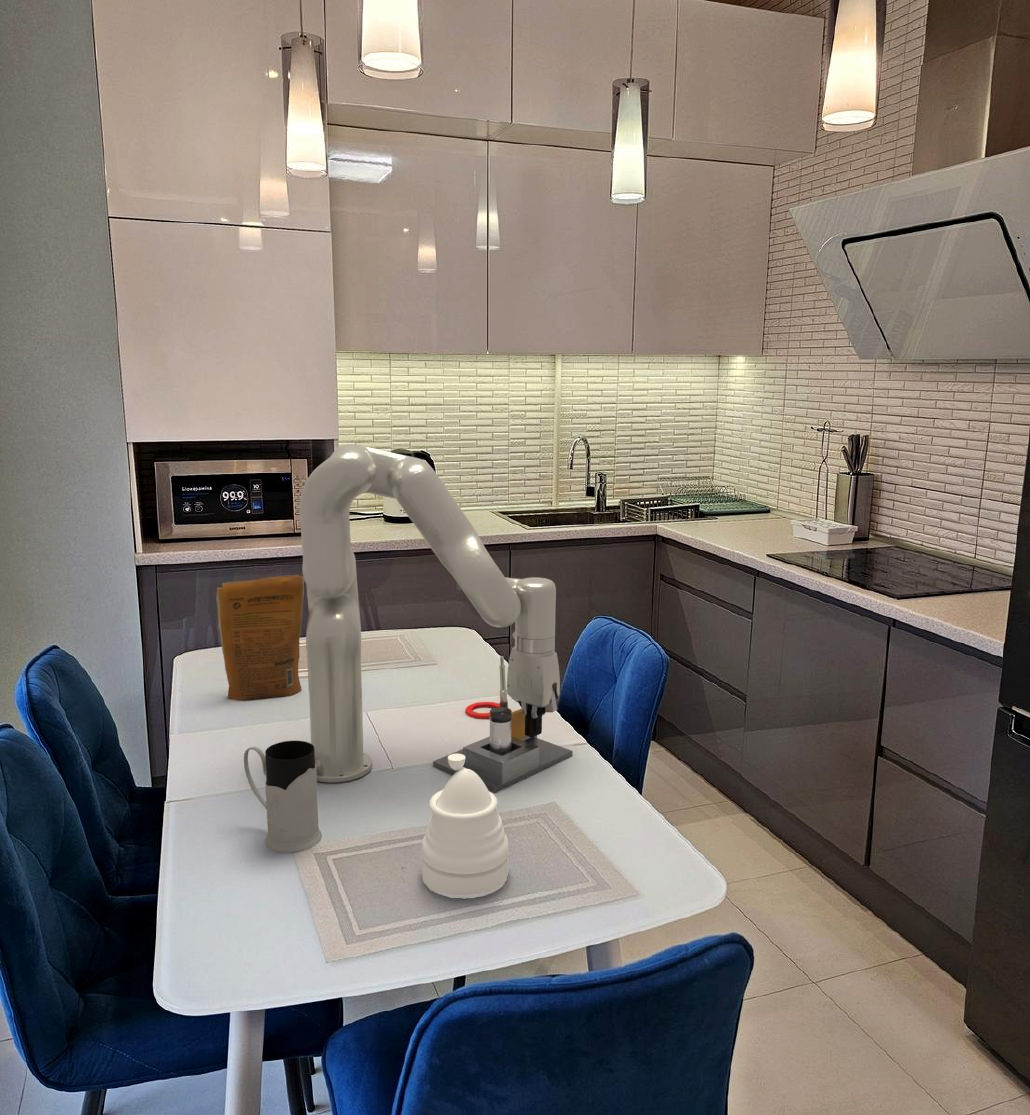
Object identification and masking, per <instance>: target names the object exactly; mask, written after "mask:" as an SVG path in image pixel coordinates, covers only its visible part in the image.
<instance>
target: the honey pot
mask: <svg viewBox="0 0 1030 1115" xmlns="http://www.w3.org/2000/svg"><path fill="white" fill-rule="evenodd" d="M450 754H451V755H450ZM450 754H448V755H449V756H448V763H449V765H450V767H451V768H452V769H454V770H459V771H457V772H456V773H455V774H454V775H452V776H451V777H450V778H449V779H448V781H447V783H446V784H445V786H444V788H443V789H441V790H439V791H437V792H435V794H433V795H432V796H431V798H430V800H429V802H428V803H429V804H428V805H429V807H428V808H429V810H430V811H431V812H432V815H431V816H430V818H429V820H428V826H427V828H426V830H425V834H424V837H423V839H422V842H421V877H422V878H421V879H423V880H424V882H425V884H426V885H427V886H429V887H430V888H431V889H432V890H435V891H437V892H442V893H446V894H451V895H470V894H479V893H482V892H488V891H490V890H492V889H495V888H496V887H497V886H499V885H500V884H502V883H503V881H504V880H505V879H507V876H508V872H509V871H510V870H509V869H510V867H509V866H510V865H509V864H510V862H509V861H510V860H509V859H510V855H509V852H510V851H509V850H510V849H509V847H510V844H509V840H508V836H507V834H506V833H505V828H504V826H503V822H502V817H501V816H500V815H499V812H498V810H497V807H498V805H499V802H498V798H497V797H496V796H495V795H494V793H493V792H491V791H488V789H487V787H486V786H485V784H484V782H483V781H482V780H481V778H480V777H479V776H478V775H477V774H476V773H475V772H474V771H472V770H470V769H466V768H464V767H463V765H464V763H465V756H464V755H462V754H452V753H450ZM509 873H510V872H509ZM508 877H509V876H508ZM423 880H422V881H423ZM507 880H508V879H507ZM424 882H423V883H424ZM425 884H424V885H425Z"/></svg>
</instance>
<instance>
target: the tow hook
mask: <svg viewBox="0 0 1030 1115" xmlns="http://www.w3.org/2000/svg"><path fill="white" fill-rule="evenodd" d="M504 658H505V657H504V655H503V656H502V655H501V656H500V657H499V659H500V660H499V662H500V663H499V664H500V665H499V681H500V682H499V684H500V686H499V687H500V690H499V703H498V702H495V701H480V702H475V703H471V704H469V705H468V706H467V707H465V715H466V716H468V717H470V718H473V719H482V720H483V719H490V711H489V712H476V711H474V710H477V709H480V708H491V709H493V708H497V707H505V708H509V702H508V694H507V679H506V665H505V660H504Z"/></svg>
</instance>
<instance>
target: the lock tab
mask: <svg viewBox="0 0 1030 1115" xmlns="http://www.w3.org/2000/svg"><path fill="white" fill-rule="evenodd" d="M511 736H512V737H515V738H517V739H520V740H523V741H525V740H527V739H530V738H531V737H529V736H526V735H525V715H523V713H522V708H520V709H519V708H518V709H517V710H515V711H512V726H511Z"/></svg>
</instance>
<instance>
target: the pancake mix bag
mask: <svg viewBox="0 0 1030 1115" xmlns="http://www.w3.org/2000/svg"><path fill="white" fill-rule="evenodd" d="M221 585H222V587H217V588H216V594H215V597H216V599H215V601H216V606H217V626H218V632H219V639H220V640H219V641H220V645H221V648H222V649H221V650H222V655H223V656H222V657H223V660H224V661H223V662H224V668H225V669H224V670H225V673H226V677H227V678H226V679H227V683H228V692H227V696H226V697H227V698H228V699H230V700H234V701H238V702H239V701H243V702H244V701H253V700H261V699H271V698H278V697H279V698H280V697H290V696H294V695H296V694H298V693H300V692H301V691H302V688H303V687H302V685H301V681H300V676H299V674H300V673H299V661H300V636H301V631H302V630H301V629H302V624H303V623H302V622H303V603H304V596H305V595H304V594H305V592H304V591H305V581H304V577H303V575H299V574H293V575H292V574H291V575H289V574H288V575H279V576H271V577H263V578H257V579H256V578H255V579H251V580H237V581H229V582H223V583H222V584H221Z"/></svg>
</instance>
